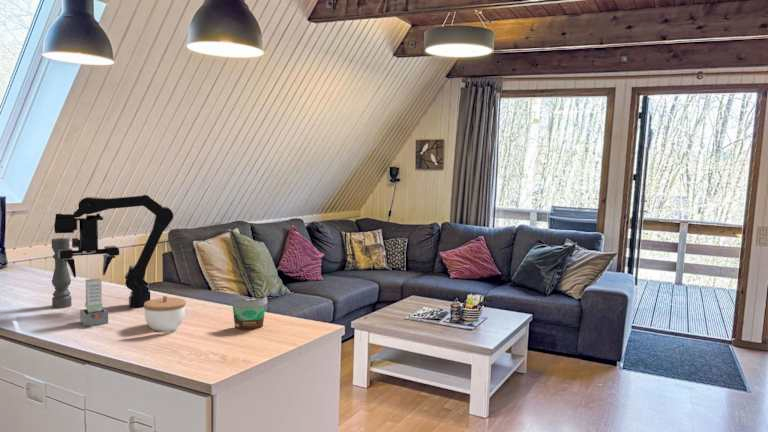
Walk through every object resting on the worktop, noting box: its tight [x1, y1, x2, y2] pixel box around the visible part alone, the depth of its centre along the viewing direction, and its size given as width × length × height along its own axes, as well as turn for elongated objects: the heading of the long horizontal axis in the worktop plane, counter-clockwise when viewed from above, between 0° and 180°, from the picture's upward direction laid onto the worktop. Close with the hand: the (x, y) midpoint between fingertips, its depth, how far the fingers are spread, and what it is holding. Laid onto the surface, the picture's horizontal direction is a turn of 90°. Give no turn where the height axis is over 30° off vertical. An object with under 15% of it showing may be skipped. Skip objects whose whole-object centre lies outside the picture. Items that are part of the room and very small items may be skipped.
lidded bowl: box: [143, 295, 187, 334], centre depth 179 cm, size 13×13×11 cm
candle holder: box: [51, 237, 72, 309], centre depth 203 cm, size 6×6×25 cm
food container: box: [230, 295, 268, 331], centre depth 183 cm, size 12×6×10 cm, turn 117°
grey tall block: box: [84, 278, 103, 314], centre depth 180 cm, size 4×5×10 cm
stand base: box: [79, 306, 109, 327], centre depth 181 cm, size 14×14×5 cm
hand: (89, 276), depth 196 cm, fingers open, 9 cm apart
